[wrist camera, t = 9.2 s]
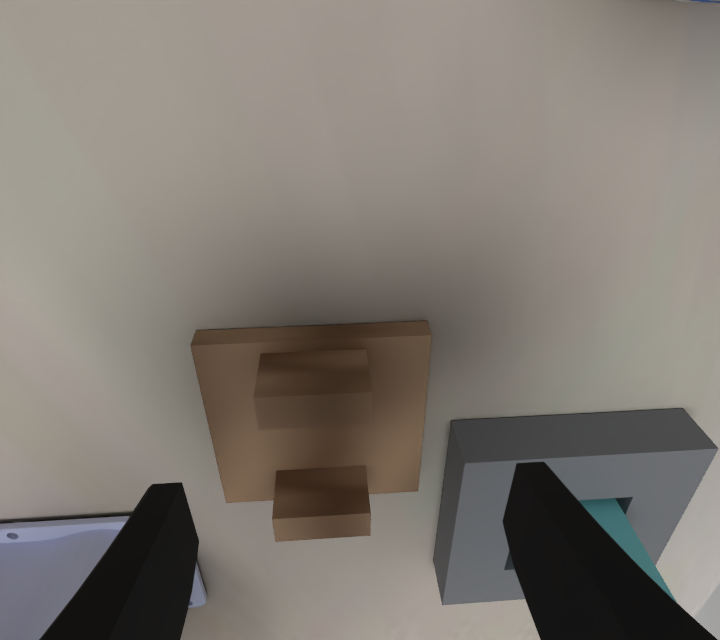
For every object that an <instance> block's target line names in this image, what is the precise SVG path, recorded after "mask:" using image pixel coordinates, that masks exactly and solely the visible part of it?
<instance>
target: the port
mask: <svg viewBox="0 0 720 640" xmlns="http://www.w3.org/2000/svg"><path fill="white" fill-rule="evenodd" d="M718 449H719V448H718V447H717V446H716V445H715V444H714V443H713V442H712V441H711V439H710V438H709V437H708V436H707V435H706V434H705V433H704V431H703V430H702V429H701V428H700V427H699V426H698V425H697V424H696V422H695V421H694V420H693V419H692V418H691V417H690V416H689V414H688V413H687V412H686V411H685V410H684V409H683V408H681V409H662V410H643V411H624V412H605V413H587V414H568V415H549V416H530V417H511V418H493V419H474V420H455V421H451V428H450V436H449V444H448V451H447V459H446V467H445V474H444V482H443V490H442V498H441V505H440V513H439V521H438V528H437V536H436V544H435V552H434V559H433V562H434V567H435V572H436V577H437V582H438V587H439V591H440V596H441V601H442V605H450V604H464V603H477V602H491V601H504V600H517V599H525V596H524V594H523V591H522V588H521V586H520V583H519V580H518V577H517V575H516V572H515V569H514V565H513V562H512V558H511V554H510V550H509V547H508V543H507V538H506V534H505V530H504V526H503V522H502V521H503V517H504V513H505V509H506V505H507V501H508V496H509V492H510V488H511V484H512V480H513V476H514V472H515V467H516V463H527V462H545V463H546V464H547V465H548V466H549V467H550V468H551V470H552V471H553V472H554V473H555V474H556V475H557V477H558V478H559V479H560V480H561V481H562V482H563V484H564V485H565V486H566V487H567V488H568V489H569V490H570V492H571V493H572V494H573V495H574V496H575V497H576V498H577V500H592V499H608V498H615V499H616V501H617V502H618V504H619V506H620V507H621V509H622V511H623V512H624V514H625V516H626V517H627V519H628V521H629V523H630V524H631V526H632V528H633V529H634V531H635V533H636V534H637V536H638V538H639V539H640V541H641V543H642V545H643V546H644V548H645V550H646V551H647V553H648V555H649V556H650V558H651V560H652V562H653V563H654V565H656V563H657V561H658V559H659V557H660V556H661V554H662V552H663V550H664V548H665V546H666V545H667V543H668V541H669V539H670V537H671V535H672V533H673V532H674V530H675V528H676V526H677V524H678V522H679V521H680V519H681V517H682V515H683V513H684V511H685V510H686V508H687V506H688V504H689V502H690V500H691V498H692V497H693V495H694V493H695V491H696V489H697V487H698V486H699V484H700V482H701V480H702V478H703V476H704V475H705V473H706V471H707V469H708V467H709V465H710V463H711V462H712V460H713V458H714V456H715V454H716V452H717V451H718Z"/></svg>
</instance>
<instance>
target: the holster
mask: <svg viewBox="0 0 720 640" xmlns="http://www.w3.org/2000/svg"><path fill="white" fill-rule="evenodd" d="M431 341H432V334H431V331H430V328H429V325H428V322H427V321H412V322H388V323H364V324H340V325H316V326H292V327H268V328H244V329H220V330H196V332H195V334H194V337H193V340H192V343H191V350H192V355H193V359H194V363H195V368H196V372H197V377H198V381H199V385H200V390H201V394H202V398H203V403H204V407H205V412H206V416H207V420H208V425H209V429H210V434H211V438H212V442H213V447H214V451H215V456H216V460H217V464H218V469H219V473H220V478H221V482H222V486H223V491H224V495H225V500H226V503H232V502H249V501H265V500H274V504H273V516H272V521H273V528H274V534H275V540H276V542H278V541H293V540H308V539H323V538H338V537H354V536H369V535H370V520H371V512H370V502H369V494H379V493H396V492H412V491H418V486H419V474H420V463H421V452H422V441H423V430H424V419H425V408H426V397H427V385H428V374H429V363H430V352H431Z"/></svg>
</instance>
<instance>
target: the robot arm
mask: <svg viewBox="0 0 720 640" xmlns="http://www.w3.org/2000/svg"><path fill="white" fill-rule="evenodd" d="M502 522H503V526H504V530H505V534H506V538H507V543H508V547H509V550H510V554H511V558H512V562H513V565H514V569H515V572H516V575H517V577H518V580H519V583H520V586H521V588H522V591H523V594H524V596H525V599H526V602H527V604H528V607H529V610H530V612H531V615H532V618H533V620H534V623H535V626H536V628H537V631H538V634H539V636H540V639H541V640H717V639H716V638H715V637H714V636H713V635H712V634H711V633H709V632H708V631H707V630H706V629H705V628H704V627H703V626H701V625H700V624H699V623H698V622H697V621H696V620H695V619H694V618H693V617H691V616H690V615H689V614H688V613H687V612H686V611H685V610H684V609H683V608H682V607H681V606H680V605H679V604H677V603H676V602H675V601H674V600H673V599H672V598H671V597H670V596H669V595H668V594H667V593H666V592H665V591H664V590H663V589H662V588H661V587H660V586H659V585H658V584H657V583H656V582H655V581H654V580H653V579H652V578H651V577H650V576H649V575H648V574H647V573H646V572H645V571H644V570H643V569H642V568H641V567H640V566H639V565H638V564H637V563H636V562H635V561H634V560H633V559H632V558H631V557H630V556H629V555H628V554H627V553H626V552H625V551H624V550H623V549H622V548H621V547H620V546H619V544H618V543H617V542H616V541H615V540H614V539H613V538H612V537H611V536H610V535H609V534H608V533H607V532H606V531H605V530H604V529H603V527H602V526H601V525H600V524H599V523H598V522H597V521H596V520H595V519H594V518H593V516H592V515H591V514H590V513H589V512H588V511H587V510H586V509H585V507H584V506H583V505H582V504H581V503H580V502H579V501H578V500H577V498H576V497H575V496H574V495H573V494H572V493H571V492H570V490H569V489H568V488H567V487H566V486H565V485H564V484H563V482H562V481H561V480H560V479H559V478H558V477H557V475H556V474H555V473H554V472H553V471H552V470H551V468H550V467H549V466H548V465H547V464H546V463H545V462H527V463H516V467H515V472H514V476H513V480H512V484H511V488H510V492H509V496H508V501H507V505H506V509H505V513H504V517H503V521H502ZM198 545H199V540H198V536H197V533H196V529H195V526H194V523H193V519H192V516H191V512H190V509H189V505H188V502H187V498H186V495H185V492H184V488H183V485H182V482H181V483H164V484H152V485H151V486H150V487H149V488H148V489H147V491H146V492H145V494H144V495H143V497H142V499H141V500H140V502H139V503H138V505H137V506H136V508H135V509H134V511H133V512H132V514H131V515H130V516H119V517H102V518H86V519H70V520H54V521H38V522H22V523H5V524H0V640H180V638H181V635H182V630H183V626H184V622H185V618H186V614H187V610H188V608H192V607H201V606H203V605H205V604H206V600H207V594H206V591H205V588H204V585H203V581H202V578H201V575H200V572H199V568H198V565H197V562H196V560H197V552H198Z"/></svg>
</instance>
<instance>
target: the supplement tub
mask: <svg viewBox="0 0 720 640" xmlns="http://www.w3.org/2000/svg"><path fill="white" fill-rule="evenodd" d="M675 1H682V2H693V3H701V2H716V3H720V0H675Z"/></svg>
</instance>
